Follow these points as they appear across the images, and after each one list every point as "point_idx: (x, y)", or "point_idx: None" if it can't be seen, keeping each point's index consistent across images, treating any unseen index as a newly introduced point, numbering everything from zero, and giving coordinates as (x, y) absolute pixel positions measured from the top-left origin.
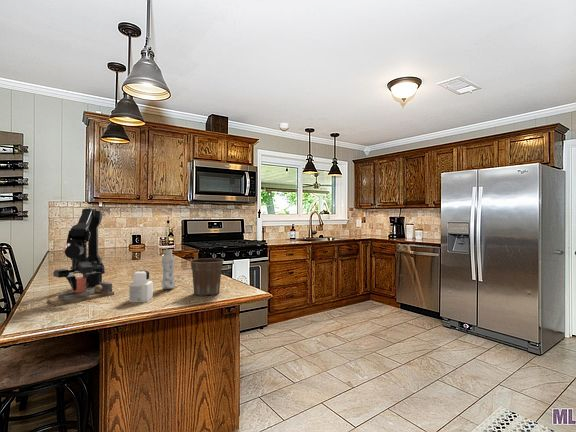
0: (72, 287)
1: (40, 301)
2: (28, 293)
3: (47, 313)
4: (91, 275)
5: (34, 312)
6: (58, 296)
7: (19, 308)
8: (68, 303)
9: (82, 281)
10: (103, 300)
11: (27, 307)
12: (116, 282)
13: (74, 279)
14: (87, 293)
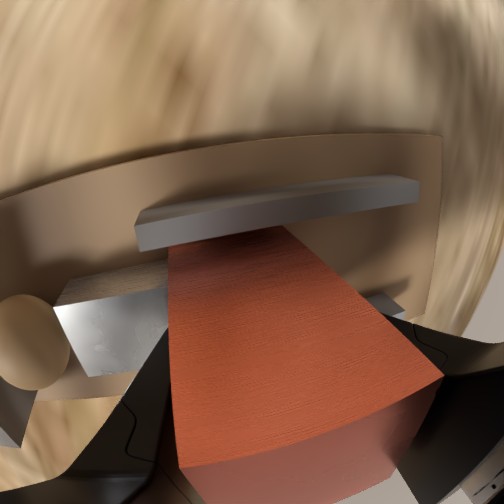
0: None
1: None
2: None
3: (473, 23)
4: (20, 495)
5: (501, 104)
6: (393, 307)
7: (499, 248)
8: (362, 133)
9: (270, 365)
10: (69, 21)
11: (487, 243)
12: (7, 483)
13: (458, 372)
14: (162, 214)
